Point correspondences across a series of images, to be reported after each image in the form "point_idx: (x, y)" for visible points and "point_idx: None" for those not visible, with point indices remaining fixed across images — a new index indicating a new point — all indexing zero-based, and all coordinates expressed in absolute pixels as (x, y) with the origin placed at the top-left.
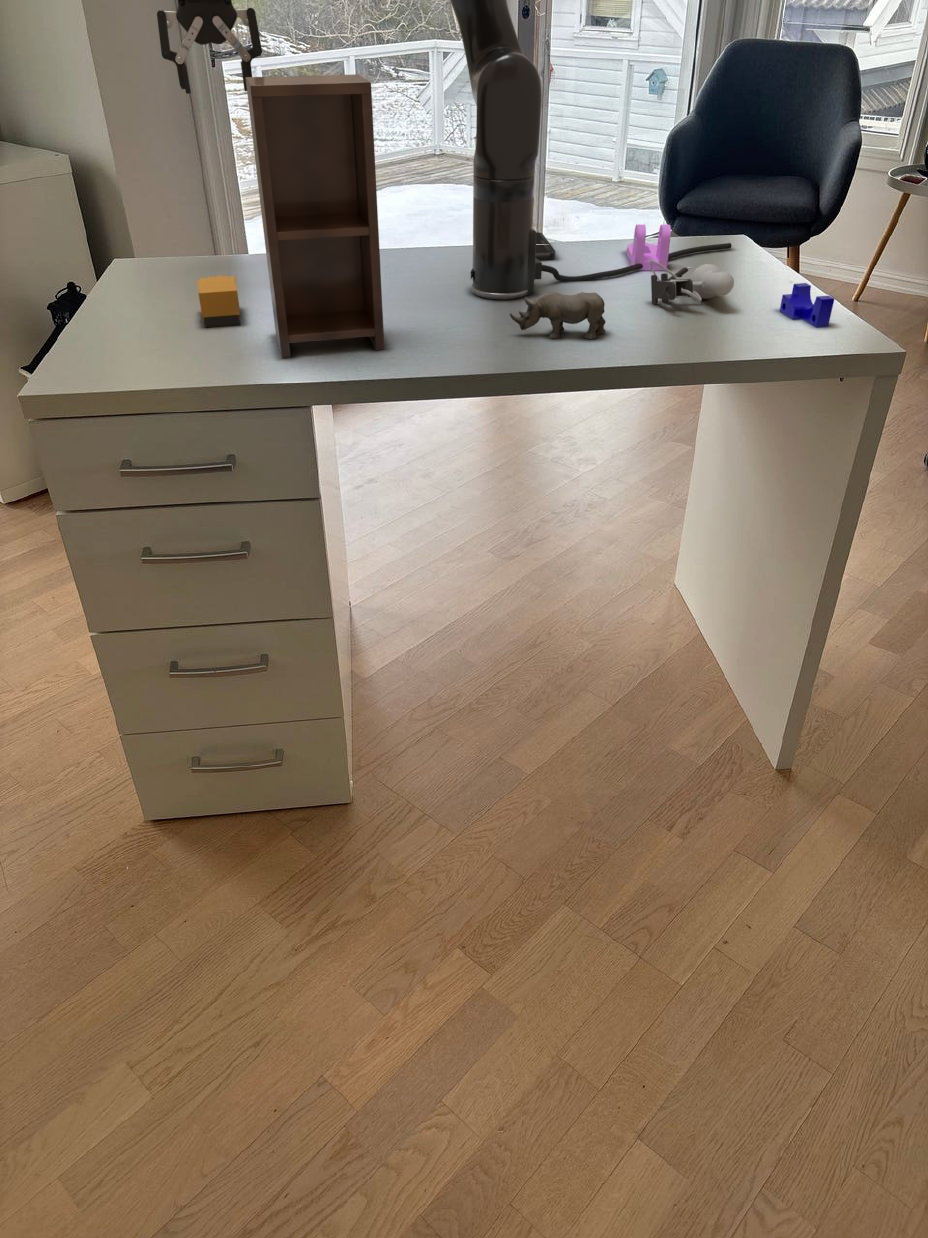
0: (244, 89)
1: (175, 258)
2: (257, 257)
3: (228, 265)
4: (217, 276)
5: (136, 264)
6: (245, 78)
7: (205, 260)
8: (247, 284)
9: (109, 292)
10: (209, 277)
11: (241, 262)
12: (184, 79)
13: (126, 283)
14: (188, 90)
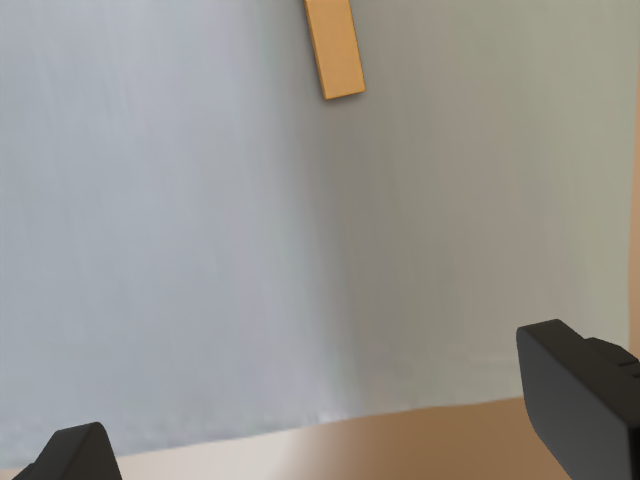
0: (114, 465)
1: (501, 395)
2: (297, 403)
3: (359, 333)
4: (343, 91)
5: None
6: (47, 467)
7: (424, 377)
8: (281, 163)
9: (617, 101)
10: (364, 83)
11: (330, 359)
12: (594, 351)
13: (587, 179)
14: (537, 324)
